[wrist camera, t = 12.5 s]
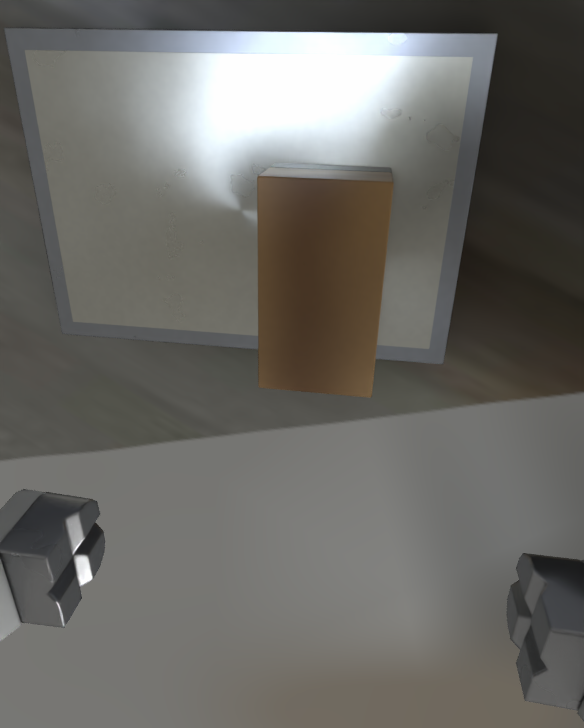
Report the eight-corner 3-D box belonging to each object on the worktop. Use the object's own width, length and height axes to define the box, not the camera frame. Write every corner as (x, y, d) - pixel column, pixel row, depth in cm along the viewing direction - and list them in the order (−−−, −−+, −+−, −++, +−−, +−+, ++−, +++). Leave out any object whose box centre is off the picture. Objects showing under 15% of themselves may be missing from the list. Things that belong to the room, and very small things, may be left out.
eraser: (391, 167, 23) (393, 182, 19) (372, 357, 27) (371, 398, 24) (274, 162, 23) (256, 175, 20) (273, 349, 28) (258, 388, 24)
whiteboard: (493, 35, 21) (498, 32, 20) (441, 355, 28) (443, 365, 27) (17, 29, 24) (2, 27, 23) (70, 327, 30) (61, 334, 29)
